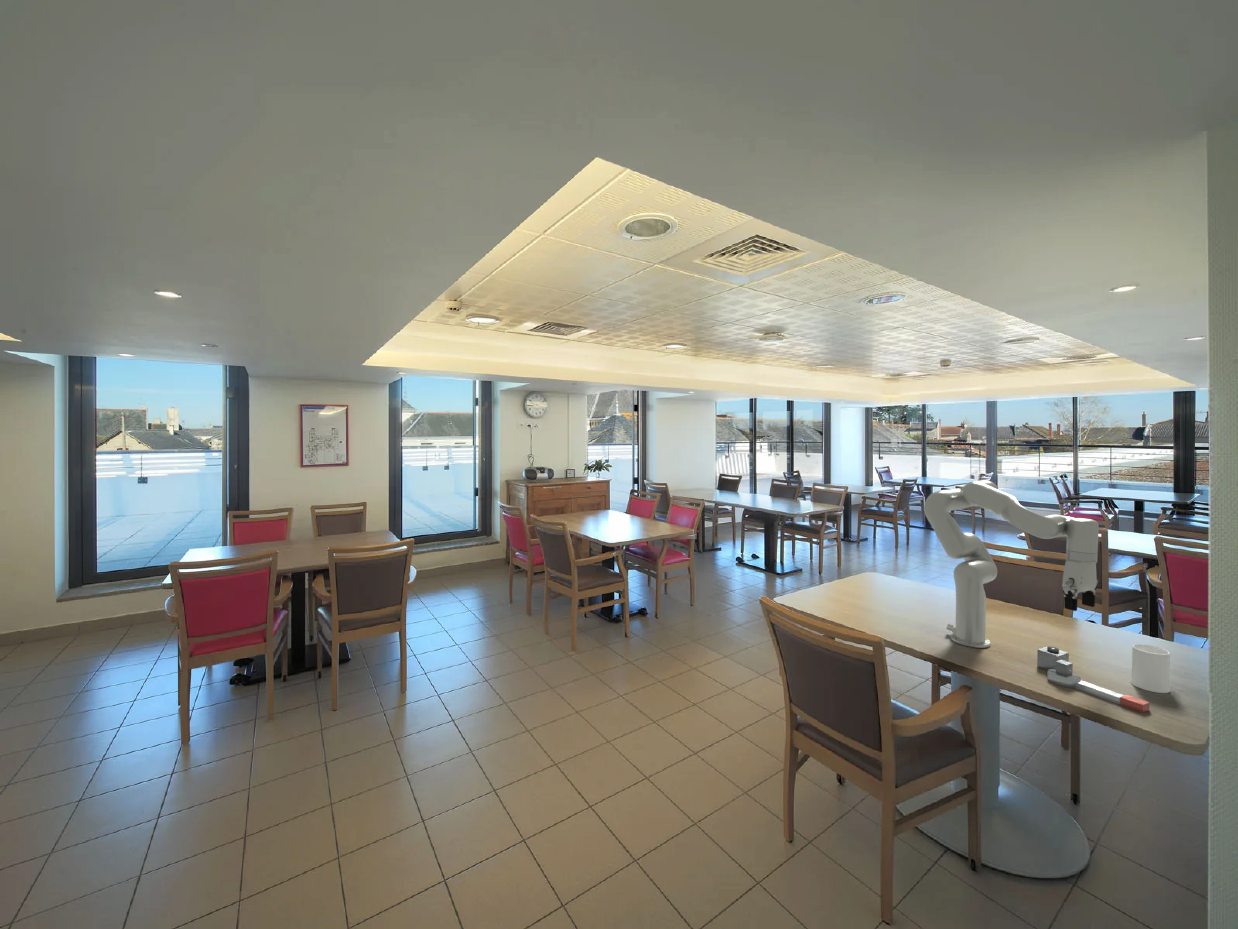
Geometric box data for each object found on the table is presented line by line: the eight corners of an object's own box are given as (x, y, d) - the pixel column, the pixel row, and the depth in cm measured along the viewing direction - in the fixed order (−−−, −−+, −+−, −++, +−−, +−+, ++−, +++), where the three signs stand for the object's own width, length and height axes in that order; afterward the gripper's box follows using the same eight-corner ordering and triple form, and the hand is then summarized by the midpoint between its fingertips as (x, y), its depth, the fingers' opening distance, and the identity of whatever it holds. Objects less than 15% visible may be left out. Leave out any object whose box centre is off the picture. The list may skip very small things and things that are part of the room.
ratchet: (1041, 679, 162) (1042, 659, 162) (1056, 674, 166) (1056, 655, 165) (1138, 715, 141) (1139, 692, 140) (1153, 708, 144) (1153, 686, 144)
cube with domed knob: (1037, 666, 171) (1037, 646, 171) (1047, 663, 174) (1047, 643, 173) (1058, 673, 166) (1058, 653, 166) (1068, 670, 168) (1068, 650, 168)
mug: (1154, 678, 162) (1155, 642, 161) (1187, 691, 153) (1188, 653, 153) (1122, 681, 160) (1123, 644, 160) (1153, 694, 152) (1154, 655, 151)
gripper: (1082, 551, 169) (1081, 600, 170) (1051, 556, 163) (1050, 607, 164) (1111, 556, 162) (1109, 607, 163) (1080, 561, 156) (1077, 615, 157)
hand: (1079, 607), depth 164 cm, fingers open, 9 cm apart
